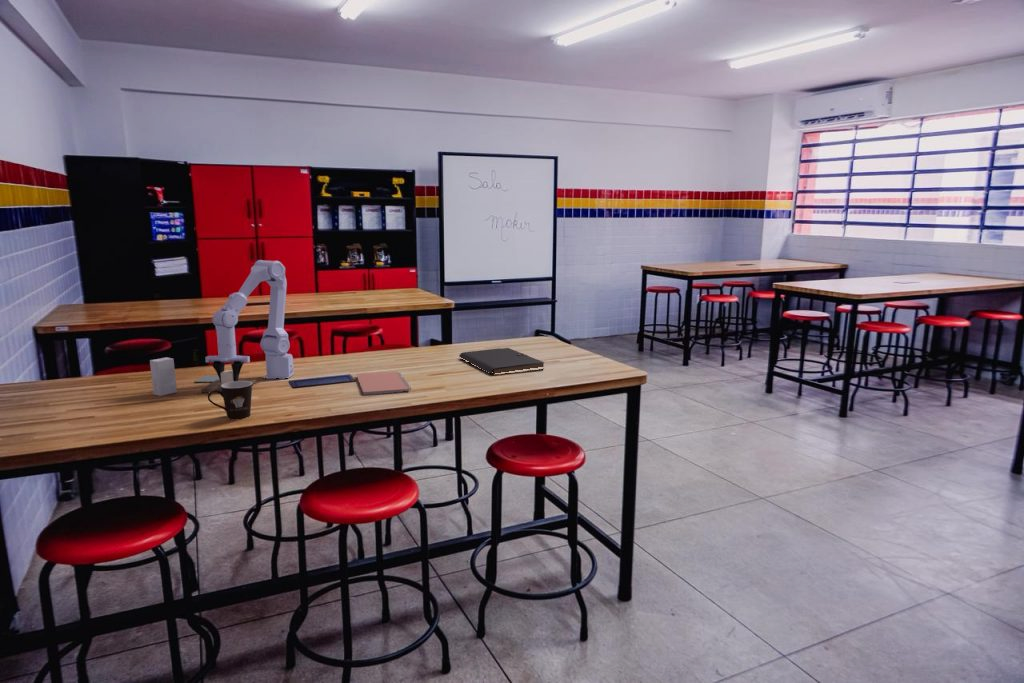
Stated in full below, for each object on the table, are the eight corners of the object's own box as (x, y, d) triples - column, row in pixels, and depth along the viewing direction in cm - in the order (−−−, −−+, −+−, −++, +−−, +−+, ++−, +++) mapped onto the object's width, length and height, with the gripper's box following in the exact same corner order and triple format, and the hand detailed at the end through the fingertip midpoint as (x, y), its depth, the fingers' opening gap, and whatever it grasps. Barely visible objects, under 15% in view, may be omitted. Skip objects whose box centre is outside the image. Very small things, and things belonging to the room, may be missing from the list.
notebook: (412, 393, 219) (412, 387, 219) (363, 396, 214) (363, 391, 213) (400, 375, 244) (400, 370, 244) (356, 378, 239) (356, 373, 239)
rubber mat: (229, 376, 236) (229, 375, 236) (219, 382, 228) (219, 381, 228) (205, 376, 236) (205, 375, 236) (194, 382, 227) (194, 381, 227)
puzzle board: (256, 383, 227) (256, 379, 227) (243, 393, 215) (242, 388, 214) (217, 383, 227) (217, 379, 226) (201, 393, 214) (201, 388, 214)
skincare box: (170, 390, 216) (167, 356, 214) (177, 392, 214) (174, 358, 212) (152, 394, 211) (149, 360, 209) (159, 396, 209) (156, 361, 207)
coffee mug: (258, 412, 193) (256, 381, 191) (247, 420, 185) (245, 388, 183) (220, 412, 193) (218, 380, 191) (208, 420, 184) (205, 388, 183)
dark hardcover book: (544, 361, 254) (491, 367, 243) (544, 371, 255) (491, 378, 244) (508, 346, 283) (459, 352, 272) (508, 355, 284) (459, 361, 273)
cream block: (237, 386, 223) (236, 370, 222) (233, 389, 219) (232, 373, 218) (226, 386, 222) (225, 370, 221) (221, 389, 218) (220, 373, 217)
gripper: (200, 346, 213) (203, 384, 216) (243, 346, 214) (246, 384, 217) (209, 342, 220) (212, 379, 223) (251, 342, 221) (253, 379, 223)
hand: (229, 382), depth 220 cm, fingers closed on cream block, 4 cm apart
